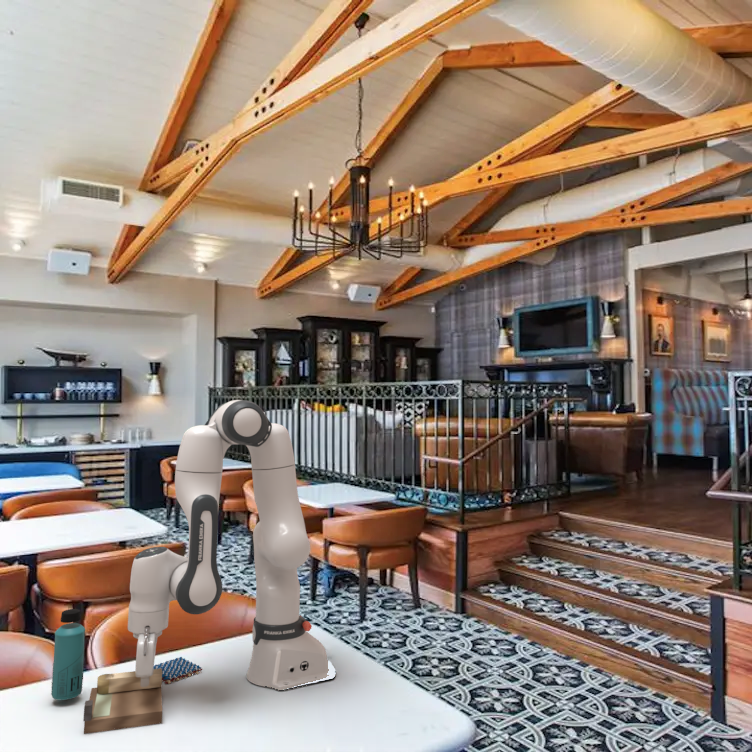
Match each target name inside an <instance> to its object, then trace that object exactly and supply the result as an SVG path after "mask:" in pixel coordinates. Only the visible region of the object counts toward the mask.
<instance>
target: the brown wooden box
mask: <svg viewBox="0 0 752 752" xmlns="http://www.w3.org/2000/svg"><path fill="white" fill-rule="evenodd" d="M162 697H163V695H162V686H161V687H156V688H148V689H139V690H131V691H122V692H114V693H107V694H98V693H97V687H91V689H90V694H89V698H88V700H85V702H84V706H83V709H84V710H83V722H84V723H83V724H84V726H83V727H84V728H83V735H87V734H94V733H101V732H107V731H108V732H109V731H115V730H121V729H129V728H137V727H144V726H152V725H159V724H163V700H162V699H163V698H162Z"/></svg>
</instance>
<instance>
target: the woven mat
mask: <svg viewBox="0 0 752 752" xmlns="http://www.w3.org/2000/svg"><path fill="white" fill-rule="evenodd" d="M161 668H162V682H163V683H165V685H169V684H172V683H175V682H179V681H180V679H181V680H183V679H187V678H190V677H192V674H194V673H196V674H195V675H198V674H199V672H198V671H201V672H202V671H203V668H202V667H201V666H200V665H197V664H196V663H193V662H192V661H189V660H187V659H186V658H183V657H182V656H180V657H175V658H173V659H170V660H166V661H165V662H160V663H158V664H154V669H161ZM188 676H189V677H188Z"/></svg>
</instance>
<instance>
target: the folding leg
mask: <svg viewBox="0 0 752 752" xmlns="http://www.w3.org/2000/svg"><path fill="white" fill-rule="evenodd" d="M162 682H163V681H162V668H161V669H154V670H153V675H152V676H149V685H148V686H147V687H141V685H140V684H141V677H136V675H135V670H133V671H125V672H114V673H105V674H101V675H99V676H97V683H96V684H97V685H96V688H97V693H98V694H107V693H114V692H122V691H131V690H139V689H148V688H156V687H161V688H162V685H163V683H162Z"/></svg>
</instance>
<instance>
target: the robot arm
mask: <svg viewBox="0 0 752 752" xmlns="http://www.w3.org/2000/svg"><path fill="white" fill-rule="evenodd" d="M290 436H291V435H290V433H289V429H287V428H286V426H284V425H282V424H280V423H274V422H271V421H270V419H269V418H268V417H267V415H266V413H265V412H264V410H263V409H262V408H261V407H260V406H259V405H258V404H257V403H255V402H253V401H250V400H243V399H233V400H230V401H228V402H227V401H226V402H225V403H222V404H220V405H219V406H217V407H216V409H214V411H213V412H212V414H210V417H209V418H208V419H207V421H206V422H205V424H199V425H194V426H192V427H191V426H190V427H189V428H188V429H187V430H185V432H184V433H183V435H182V438H181V441H180V443H179V448H178V453H177V458H176V463H175V464H176V465H175V471H174V474H175V475H174V489H175V491H174V493H175V498H176V500H177V502H178V503H179V505H180V507H181V508H182V511H183V512H184V515H185V517H186V521H187V524H188V549H187V551H188V552H187V556H184V555H180V554H178V553H176V552H173V551H172V550H170V549H169V548H167V547H165V546H154V547H149V548H147V549H143V550H142V551H140V552H138V553H137V554H136V555H135V557H134V558H133V562H132V566H131V569H130V570H131V572H130V582H129V592H130V602H129V604H128V615H127V630H128V632H130V633H132V636H133V638H135V639H137V643H136V657H135V670H134V671H135V675H136V677H141V684H140V685H141V687H147V686H148V685H149V676H152V675H153V670H154V666H155V659H156V652H157V650H156V649H157V642H158V637H160V636H161V635H162V634H163V631H164V630H166V629H167V628H168V626H169V617H170V615H169V614H170V613H169V612H170V602H172V601H177V603H178V605H179V607H180V608H181V610H182V611H184V613H187V614H190V615H201V614H205V613H207V612H209V611H210V610H212V609H213V608H214V607H216V605H217V603H218V602H219V601H220V599H221V596H222V592H223V582H222V578H221V575H220V573H219V569H218V565H217V564H218V561H217V555H218V535H219V534H218V531H219V530H218V529H219V527H218V526H219V509H220V507H219V506H220V505H219V504H220V496H221V487H222V477H223V466H224V464H223V463H224V458H225V455H226V453H227V450H228V449H229V448H230V447H231V446H233V445H241V446H246V447H247V450H248V452H249V454H250V457H251V458H250V459H251V473H252V474H251V475H252V486H253V497H254V502H255V506H256V509H257V510H256V511H257V512H258V518H259V521H258V522H257V523H256V524H255V526H254V529H253V533H252V540H253V557H254V559H253V560H254V572H255V582H256V583H255V585H256V591H255V592H256V594H255V595H256V596H255V617H254V618H253V622H252V623H253V625H252V643H253V645H252V652H251V658H250V663H249V667H248V670H247V673H246V679H247V680H248V682H250V683H252V684H254V685H256V686H259V687H265V686H267V687H266V688H271V687H272V688H271V689H273V688H275V689H274V690H276V689H278V690H277V691H279V690H283V689H287V688H292V687H294V686H298V685H301V684H305V683H308V682H313V681H316V680H320V679H323V678H326V677H327V676H329V675H327V673H328V671H329V669H328V660H329V659H328V654H327V651H326V648H325V646H324V644H322V642H321V641H320V640H319V639H317V638H316V637H315V636H313V635H312V634H311V633H309V631H311V629H312V624H311V623H310V621H308V620H307V619H306V618H305V617H303V616H302V615H300V604H301V603H300V601H301V600H300V599H301V598H300V597H301V585H300V581H299V575H298V568H300V567H301V566H303V565H304V564H305V563H306V561H307V560H308V558H309V556H310V554H311V553H310V552H311V543H310V540H309V536H308V533H307V531H306V530H307V529H306V523H305V519H304V516H303V511H302V506H301V503H300V499H299V497H300V496H299V494H298V483H297V474H296V473H297V472H296V471H297V470H296V463H295V455H294V449H293V444H292V441H291V440H292V439H291V437H290ZM327 659H328V660H327Z"/></svg>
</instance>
